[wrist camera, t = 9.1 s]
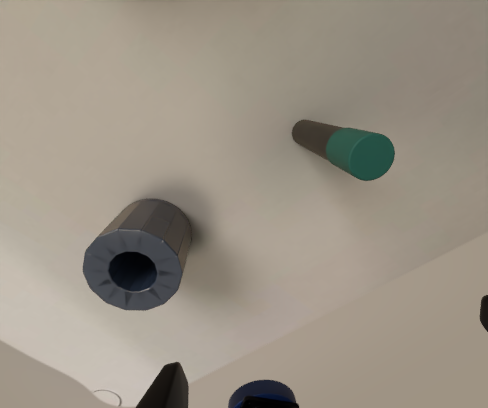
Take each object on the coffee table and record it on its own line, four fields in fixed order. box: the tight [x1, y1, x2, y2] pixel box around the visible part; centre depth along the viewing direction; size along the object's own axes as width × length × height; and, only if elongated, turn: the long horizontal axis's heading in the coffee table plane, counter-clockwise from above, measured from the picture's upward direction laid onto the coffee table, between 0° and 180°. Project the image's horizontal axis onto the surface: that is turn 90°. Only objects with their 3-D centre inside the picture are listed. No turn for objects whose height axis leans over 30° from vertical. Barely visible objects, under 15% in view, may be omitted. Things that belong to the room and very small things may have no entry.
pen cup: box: [83, 199, 192, 310], centre depth 18 cm, size 5×6×5 cm
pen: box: [292, 120, 395, 181], centre depth 14 cm, size 2×2×9 cm
